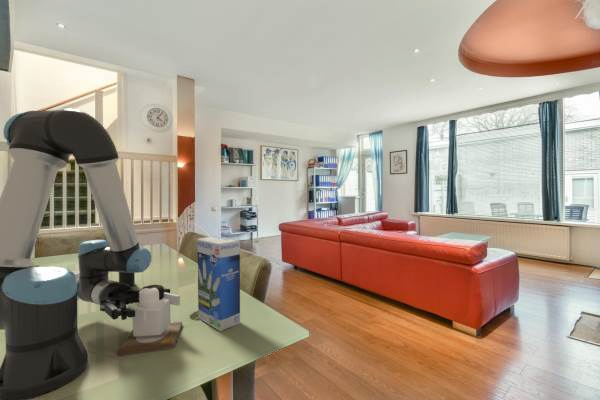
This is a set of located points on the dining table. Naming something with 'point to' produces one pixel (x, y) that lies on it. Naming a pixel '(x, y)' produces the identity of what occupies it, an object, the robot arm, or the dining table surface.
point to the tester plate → (151, 341)
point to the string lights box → (219, 282)
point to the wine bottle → (127, 278)
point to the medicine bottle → (152, 312)
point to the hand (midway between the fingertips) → (163, 307)
